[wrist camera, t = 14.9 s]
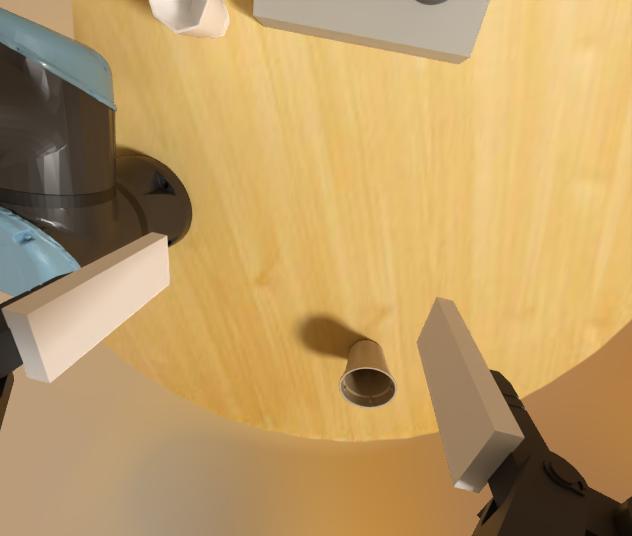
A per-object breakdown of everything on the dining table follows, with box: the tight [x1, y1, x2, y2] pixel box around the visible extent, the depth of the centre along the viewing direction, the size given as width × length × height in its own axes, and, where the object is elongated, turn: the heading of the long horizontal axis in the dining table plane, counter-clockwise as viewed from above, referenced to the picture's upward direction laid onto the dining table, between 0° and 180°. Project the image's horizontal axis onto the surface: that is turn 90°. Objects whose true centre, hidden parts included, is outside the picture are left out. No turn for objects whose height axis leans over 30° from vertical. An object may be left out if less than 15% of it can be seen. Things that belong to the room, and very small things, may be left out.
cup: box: [149, 0, 230, 39], centre depth 32 cm, size 7×10×8 cm
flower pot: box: [339, 340, 397, 408], centre depth 52 cm, size 9×9×9 cm
